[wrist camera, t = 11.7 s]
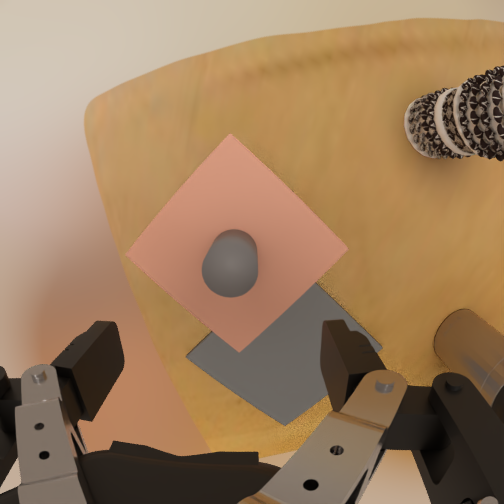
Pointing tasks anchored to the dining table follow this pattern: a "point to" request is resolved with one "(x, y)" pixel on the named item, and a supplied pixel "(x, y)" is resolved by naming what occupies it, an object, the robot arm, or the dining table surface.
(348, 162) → the dining table surface
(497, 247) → the dining table surface
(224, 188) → the lid
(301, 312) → the mat
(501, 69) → the decorative candle
